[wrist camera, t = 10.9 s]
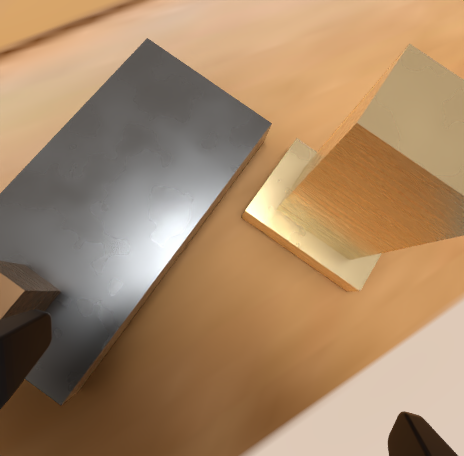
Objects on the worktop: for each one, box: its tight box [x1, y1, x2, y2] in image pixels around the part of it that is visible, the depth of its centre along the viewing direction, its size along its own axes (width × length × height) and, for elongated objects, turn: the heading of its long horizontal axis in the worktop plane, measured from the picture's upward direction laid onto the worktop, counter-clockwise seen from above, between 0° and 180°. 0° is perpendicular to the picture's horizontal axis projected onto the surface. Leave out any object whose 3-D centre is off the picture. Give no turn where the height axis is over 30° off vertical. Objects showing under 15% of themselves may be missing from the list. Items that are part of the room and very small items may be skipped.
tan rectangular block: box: [242, 44, 464, 291], centre depth 13 cm, size 5×7×10 cm
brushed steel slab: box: [0, 38, 272, 405], centre depth 15 cm, size 16×8×5 cm, turn 145°
